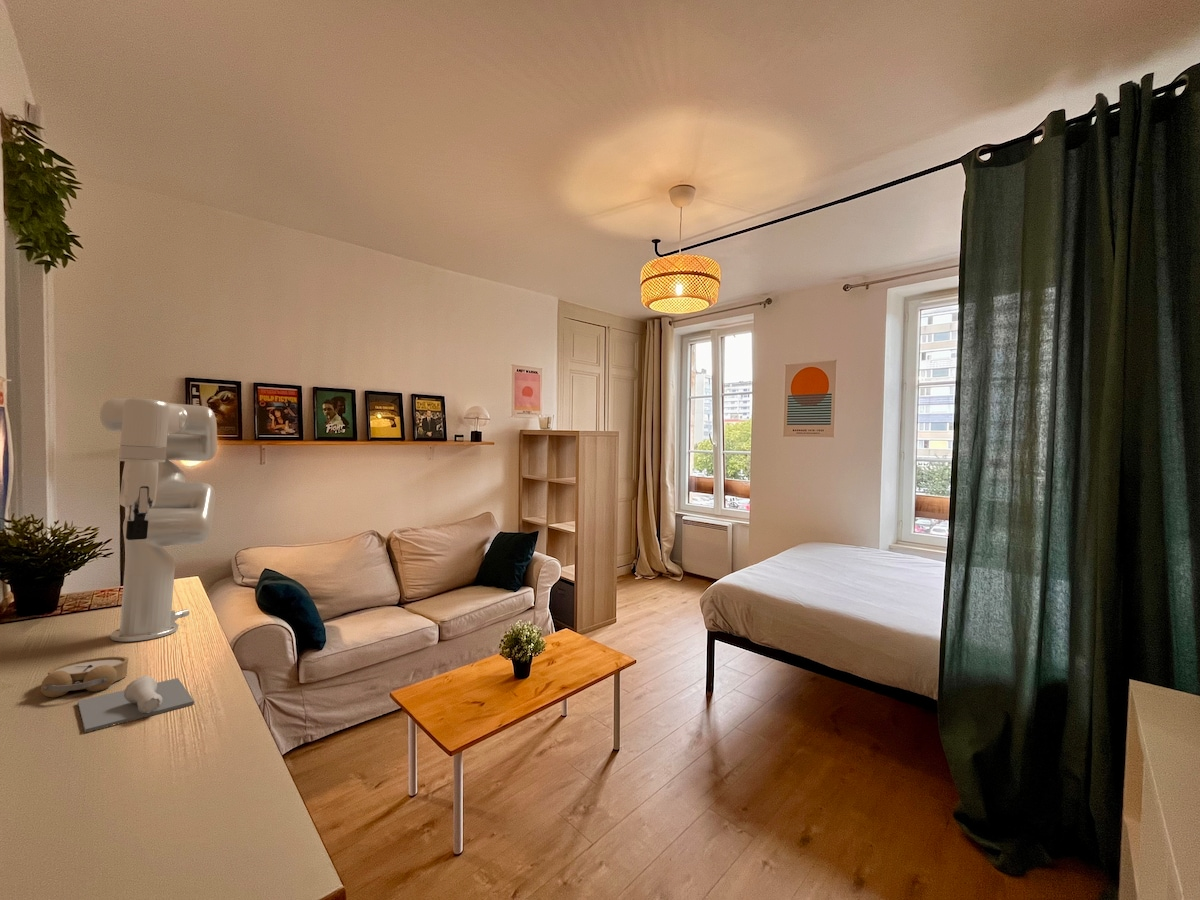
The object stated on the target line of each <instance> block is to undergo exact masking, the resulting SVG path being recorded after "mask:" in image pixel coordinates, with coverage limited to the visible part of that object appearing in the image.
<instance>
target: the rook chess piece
mask: <svg viewBox="0 0 1200 900" xmlns="http://www.w3.org/2000/svg"><path fill="white" fill-rule="evenodd" d="M157 683H158V682H157V681H156V680H155V678H154V677H152V676H142V677H137V678H136V679H134V680H132V681H131V682H130V683H129V684H127V686H126V687H125V689H124V690H125V691H124V697H125V698H126V700H127V701H128V702H131V703H137V705H138V710H139V711H140V712H141V713H150V712H152V711H153V712H154V711H156V710H157V708H158V707H160V705H161V703H162V697H161V695H159V694H157V693H156V690H157Z"/></svg>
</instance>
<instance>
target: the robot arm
mask: <svg viewBox="0 0 1200 900" xmlns="http://www.w3.org/2000/svg"><path fill="white" fill-rule="evenodd" d="M99 419H100V423H101V425H102V426H103V428H104V429H105V430H107V431H110V432H118V433H120V443H119V444H120V446H119V453H118V454H119V455H118V461H119V462H124V466H123V468H122V469H123V470H122V476H121V485H120V486H121V487H120V494H119V502H118V503H119V505H120V506H122V507H124V508H125V509H128V514H127V515H126V517H125V518H124V521H123V525H122V530H123V531H122V533H123V541H124V552H125V554H124V555H125V556H124V557H125V561H124V572H123V574H124V575H123V585H122V586H123V587H122V599H121V610H120V622H119V623H120V625H119V628H118V629H115V630H113V631H112V632H111V633H110V639H111V640H112V641H114V642H125V643H126V642H139V641H148V640H154V639H157V638H162V637H165V636H169V635H171V634H173V633H175V632H176V631H177V630H178V628H179V624H178V623H177V622H176V621H178V619H181V618H185V617H188V616H189V615H190V610H189V609H187V608H186V609H182V610H179V611H176V610H172V609H173V599H174V598H173V594H174V586H175V585H174V582H175V570H176V562H175V559H174V557H173V556H172V555H171V553H170V552H169V551H168V550H166V549H165V548H164V547H169V546H187V545H189V546H190V545H201V544H203V543H205V542H207V541H208V540H209V539H210V537H211V536H212V532H213V527H214V525H213V524H214V518H215V509H216V501H217V500H216V499H217V498H216V491H215V488H214V487H213V485H211V484H210V483H207V482H197V481H186V480H187V477H186V473H184V471H183V470H182V469H181V468H180V467H179V466H178V465H176V464H175V463H173V462H172V461H193V462H194V461H195V462H197V461H198V462H207V461H210V460H212V459H214V457H215V456H216V454H217V452H218V424H217V418H216V415H215V412H214V411H213V409H211V407H208V406H205V405H198V404H197V405H194V404H185V403H184V404H182V403H175V402H168V401H163V400H158V399H151V398H142V397H141V398H140V397H138V398H137V397H132V398H121V397H120V398H116V397H111V398H109V399H106V400H105V401H104V402H103V404H102V405H101V407H100V411H99Z"/></svg>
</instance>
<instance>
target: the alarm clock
mask: <svg viewBox="0 0 1200 900" xmlns="http://www.w3.org/2000/svg"><path fill="white" fill-rule="evenodd" d="M129 659H130V658H128V657H126V656H119V655H117V656H103V657H95V658H93V657H92V658H87V659H82V660H78V661H73V662H69V663H65V664H61V665H58V666H55V667H53V668H51V669H49V671H47V676H46V677H44V679H42V682H41V685H40V690H41V693H42V694H43V695H44V696H45V697H48V698H59V696H60V697H62V696H64V695H66V694H67V693H68V692H71V691H80V690H81V691H82V690H87V691H89V692H93V693H94V692H95V693H96V692H101V691H103V690H106V689H108V688H110V687H111V685H113V684H114V683H115V682H117V681H120V680H122V679H124V678H126V677H127V675H128V662H129Z"/></svg>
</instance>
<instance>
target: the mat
mask: <svg viewBox="0 0 1200 900" xmlns="http://www.w3.org/2000/svg"><path fill="white" fill-rule="evenodd" d="M156 683H157V690H156V693H157V694H159V695H161V697H162V703H161V705H160V707H158V708H157V710H156V711H154V712H153V711H152V712H150V713H141V712H140V711H139V710H138V705H137V703H131V702H128V701H127V700H126V698H125V697H124V691H125V689H123V690H119V691H116V692H111V693H106V694H102V695H97V696H93V697H88V698H84V699H80V700H77V707H78V706H79V708H78V711H79V710H80V712H79V715H80V714H81V716H80V719H82V720H81V723H82V722H83V723H82V726H83V727H82V728H83V731H84V733H85V734H87V733H90V732H94V731H93V730H95V731H99V730H102V729H101V728H103V729H105V728H104V727H106V728H108V727H107V726H110V727H112V726H111V725H113V724H118V723H122V722H125V723H128V722H127V721H129V722H132V721H131V720H133V721H135V720H136V719H137V720H140V719H144V718H148V717H151V716H155V715H158V714H162V713H166V712H170V711H174V710H178V709H183V708H186V707H189V706H192V705H193V706H194V705H195V700H194V699H193V697H192V696H191V694H190V693H189V691H188V690H187V689H186V687H185V686H184V684H183V683H182V682H181V681H180V678H178V677H176V678H172V679H167V680H163V681H158V682H156ZM143 717H144V718H143ZM122 724H123V723H122ZM118 725H119V724H118ZM98 729H99V730H98ZM86 732H87V733H86Z"/></svg>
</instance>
